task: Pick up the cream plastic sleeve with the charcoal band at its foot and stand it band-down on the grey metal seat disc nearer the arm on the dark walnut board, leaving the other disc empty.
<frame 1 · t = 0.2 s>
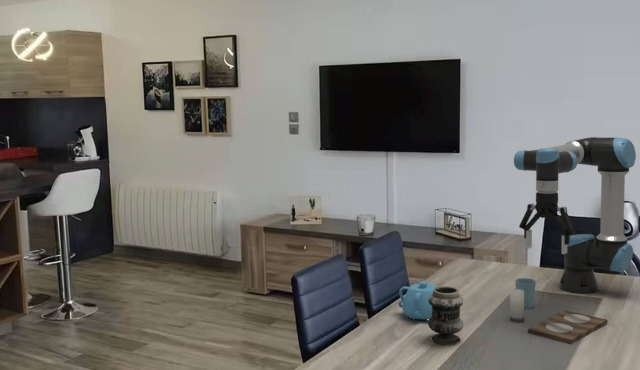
hand: (546, 250, 236), 27 cm above the table, tool pointing down, fingers open, 13 cm apart
cup: (525, 306, 261), on the table
apothecary jar: (445, 340, 228), on the table
decorative pot: (423, 317, 253), on the table
seat board: (568, 328, 235), on the table
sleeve: (516, 319, 246), on the table
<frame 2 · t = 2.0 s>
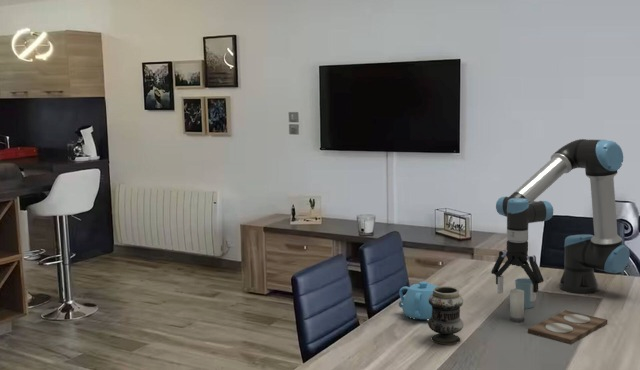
hand: (516, 296, 244), 9 cm above the table, tool pointing down, fingers open, 13 cm apart
nothing on the table moved.
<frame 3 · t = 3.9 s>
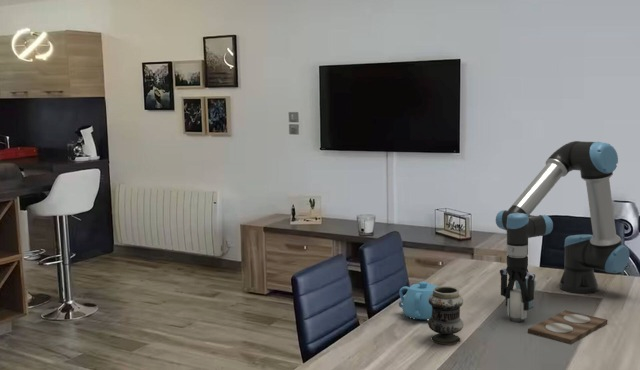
hand: (517, 316, 245), 1 cm above the table, tool pointing down, fingers closed on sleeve, 5 cm apart
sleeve: (516, 319, 246), on the table, touching gripper
everything else where it was.
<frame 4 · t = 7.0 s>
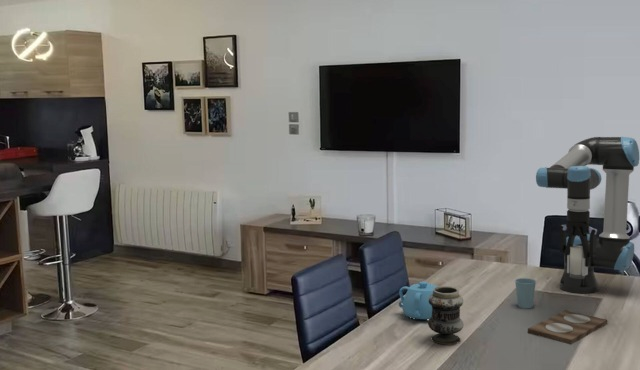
hand: (577, 273, 237), 19 cm above the table, tool pointing down, fingers closed on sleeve, 5 cm apart
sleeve: (577, 277, 237), point 17 cm above the table, touching gripper
everything else where it was.
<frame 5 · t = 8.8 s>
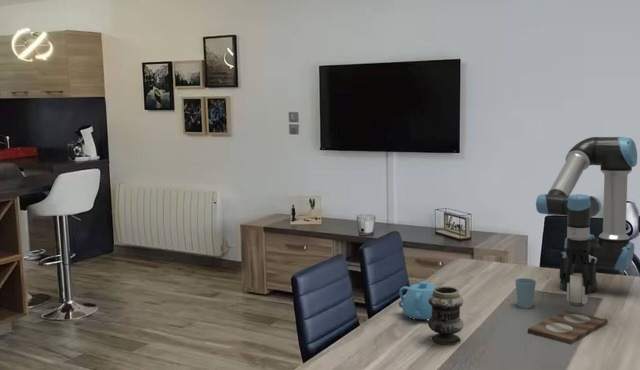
hand: (577, 301, 238), 8 cm above the table, tool pointing down, fingers closed on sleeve, 5 cm apart
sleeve: (576, 304, 238), point 7 cm above the table, touching gripper
everything else where it was.
when the fingers open (4 cm above the table, at t = 10.4 s): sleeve stays where it is, resting on seat board.
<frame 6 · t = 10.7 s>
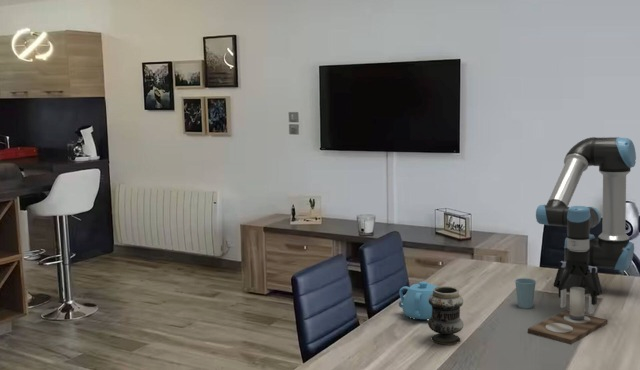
hand: (577, 309, 239), 5 cm above the table, tool pointing down, fingers open, 10 cm apart
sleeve: (576, 318, 239), point 2 cm above the table, touching seat board
everything else where it was.
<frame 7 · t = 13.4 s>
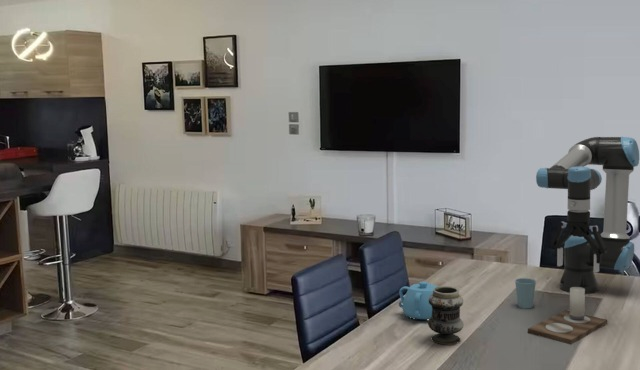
hand: (577, 268, 237), 20 cm above the table, tool pointing down, fingers open, 13 cm apart
nothing on the table moved.
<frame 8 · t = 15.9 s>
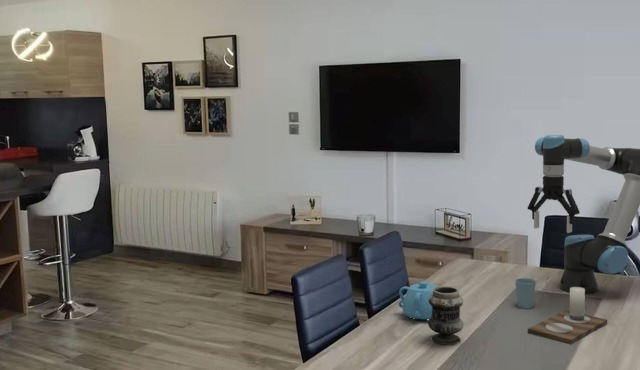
hand: (552, 230, 255), 31 cm above the table, tool pointing down, fingers open, 13 cm apart
nothing on the table moved.
at the end: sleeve 0.0 cm from the target spot on the seat board, point 2.0 cm above the seat board's base; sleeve tilted 0°; the gripper is holding nothing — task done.
